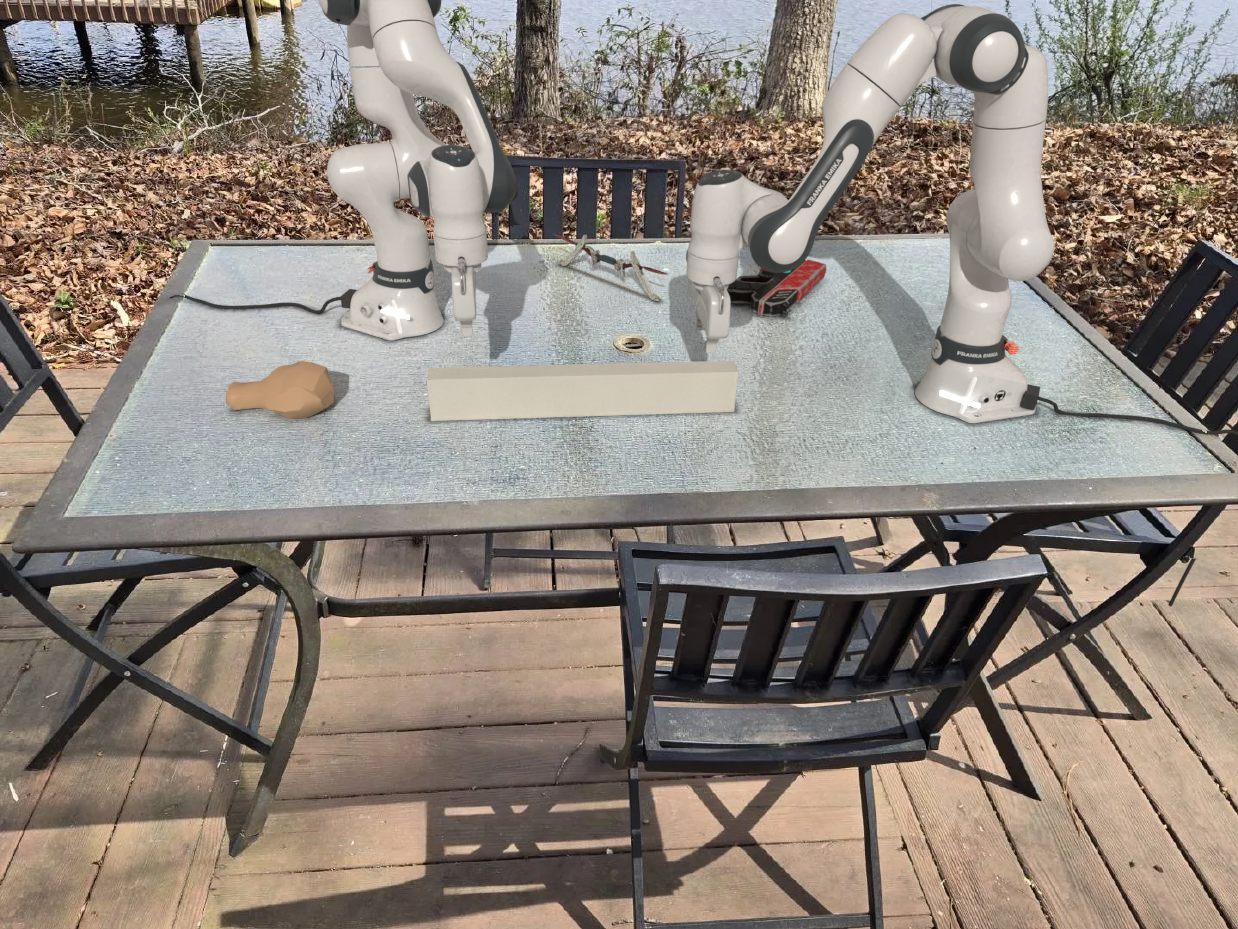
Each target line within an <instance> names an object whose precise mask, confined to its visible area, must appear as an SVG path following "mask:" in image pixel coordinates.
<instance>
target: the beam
mask: <svg viewBox="0 0 1238 929" xmlns="http://www.w3.org/2000/svg"><path fill="white" fill-rule="evenodd" d="M739 373H740V372H739V370H738V367H737V365H736V363H735V361H734V360H705V361H704V360H702V361H663V362H662V361H661V362H658V361H657V362H622V363H619V362H617V363H580V364H579V363H577V364H576V363H575V364H574V363H573V364H538V365H534V364H533V365H497V366H496V365H495V366H459V367H458V366H453V367H428V371H427V376H426V386H427V387H426V388H427V396H428V404H429V405H428V406H429V412H430V414H429V415H430V421H431V422H442V421H443V422H446V421H447V422H448V421H475V420H476V421H478V420H482V421H483V420H510V419H511V420H512V419H514V420H515V419H544V418H547V419H549V418H575V417H576V418H577V417H578V418H580V417H581V418H582V417H611V416H612V417H613V416H614V417H615V416H645V415H646V416H648V415H676V414H677V415H678V414H681V415H682V414H710V413H711V414H712V413H713V414H714V413H734V412H735V409H736V399H737V389H738V382H739Z"/></svg>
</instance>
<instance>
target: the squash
mask: <svg viewBox="0 0 1238 929" xmlns="http://www.w3.org/2000/svg"><path fill="white" fill-rule="evenodd" d="M334 398H335V386H334V384H333V381H332V378H331V374H330V372H329V369H328V367H327V366H324V365H321V364H318V363H315V362H312V361H307V360H306V361H305V360H300V361H297V362H295V363H291V364H286V365H281V366H277V367H276V368H275V369H274V370H272V371H271V372H270V373H269V375H268V376H266V377H264V378H263V379H261V380H256V381H248V382H241V381H240V382H237V381H236V382H235V381H234V382H232V383H229V384H228V387H227V390H226V393H225V404H227V405H228V406H229V408H231V409H232V411H239V410H245V409H246V410H248V409H249V410H250V409H263V410H269V411H271V412H274V413H275V414H278V415H280V416H282V417H285V418H287V419H288V420H292V419H308V418H310V417H312V416H314V415H316V414H318V413H320V412H322V411H324V410H326V409H328V408H329V407H330V406H331V405H332V404H334V402H335V400H334Z"/></svg>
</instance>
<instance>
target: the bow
mask: <svg viewBox="0 0 1238 929" xmlns="http://www.w3.org/2000/svg"><path fill="white" fill-rule="evenodd" d="M552 235H554V236H556V237H557V238H559V239H561V240H563V241H565V242H567V243H569V244H572V245H575V247H574V249H573V250H572V251H571V252H570V253H569V254H568V255H567V256H566V258H565V260H559V261H557V263H558V265H560V266H562V267H568V268H570V269H573V270H574V271H575V270H576V271H577V272H581V273H582V274H585V275H589V276H591V277H594V278H597V279H598V280H602V281H604V282H607V283H609V284H612V285H615V286H617V287H620V288H623V289H626V290H628V291H631V292H633V293H636V294H638V295H641V296H644V297H647V298H649V299H651V300H652V301H654V302H659V301H662V298H661V297H660V296H659V295H657V294H656V293H655V292H654V290H653V287H652V284H651V283H650V281H649V280H648V278H647V276H646V274H645V272H644V271H643V269H644V270H646V271H648V272H650V273H654V274H658V275H663V276H664V275H666V276H667V275H669V273H668V272H664V271H661V270H659V269H656V268H653V267H648V266H643V265H641V263H640V261H639V259H638V257H637V256H636V252H635V250H631V251H630V253H629V259H624V258H623V257H621V258H619V259H616V258H615V257H613V256H610V255H606V254H600V252H601V251H600V249H596V250H595V249H594V248H593V247H592V246H590V245H587V243H588V235H587V234H583V235H582V237H581V239H580V240H579V241H578V242H575V241H574V240H572V239H570V238H567V237H566V236H563V235H560V234H557V233H552ZM583 251H584V252H585V253H586V254H587V255H588V256H589V257H590V261H589V266H590V267H594V266H596V264H598V263H600V262H603V263H606V264H608V265H611V266H613V267H614V270H615V271H616V272H619V273H620V278H625V277H627V274H626V272H627V271H626V269H629V268H632V269H633V270H634V272H635V273H636V276H637V278H638V280H639V282H640V285H642V288H643V289H644V291H645V293H646V294H643V293H641V292H638V291H635V290H633V289H630V288H627V287H624V286H622V285H620V284H617V283H614V282H611V281H609V280H606V279H603V278H601V277H598V276H596V275H594V274H591V273H588V272H585V271H583V270H580V269H577V268H575V267H572V266H569V265H570V264H572V263H573V262H574V261H575V259H576V258H577V257H578V256H579V255H580V254H581V253H582V252H583Z"/></svg>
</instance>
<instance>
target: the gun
mask: <svg viewBox="0 0 1238 929" xmlns="http://www.w3.org/2000/svg"><path fill="white" fill-rule="evenodd" d="M759 268H760V267H759ZM826 273H827V264H826V263H823V262H820V261H816V260H812V259H805V261H804V262H803V263H801V264H800V265H799V266H798V267H796V268H794V269H792V270H790V271H787V272H782V273H773V272H768V271H766V270H764V269H762V268H760V269H759V271H758V273H757V274H756V275H753V274H752V275H751V274H750V275H740V276H738V277H737V278H736V280H735V281H734V282H733V283H731V284H729V285H728V288H727V289H726V290H727V292H728V293H729V296H730V301H731V304H750V305H749V308H750V310H751V312H753V313H755V314H757V315H758V316H760V317H761V316H765V317H770V318H771V317H777V316H780V317H784V318H787V317H788V315H789V311H788V310H790V309H791V308H792V307H793V306H794V305H795V304H798V303H799V302H801V301H802V300H803V299H804V298H805V297H807V296H808V295H809V294H810V293H811V292H812V291H813V290H814V289H815V287H817V285H818V284H820V283H821V282H822V280H823V279H824V278H825V276H826Z"/></svg>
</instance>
